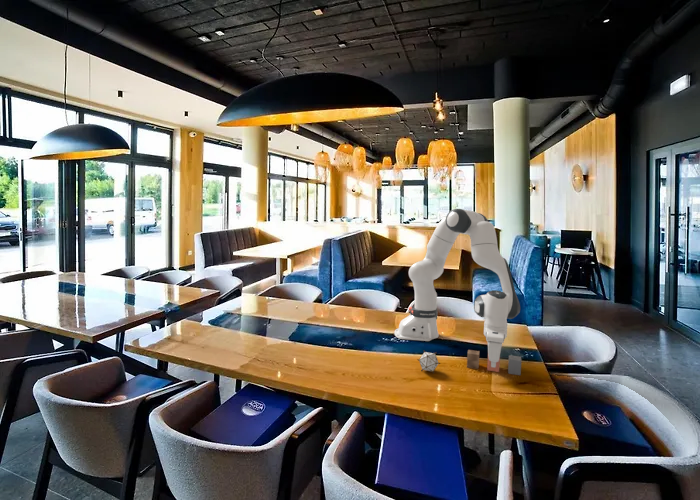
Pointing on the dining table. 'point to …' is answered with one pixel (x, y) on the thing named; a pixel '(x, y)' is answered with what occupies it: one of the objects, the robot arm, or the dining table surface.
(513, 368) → the grey block
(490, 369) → the red block
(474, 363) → the walnut block
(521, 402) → the dining table surface
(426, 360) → the game die
